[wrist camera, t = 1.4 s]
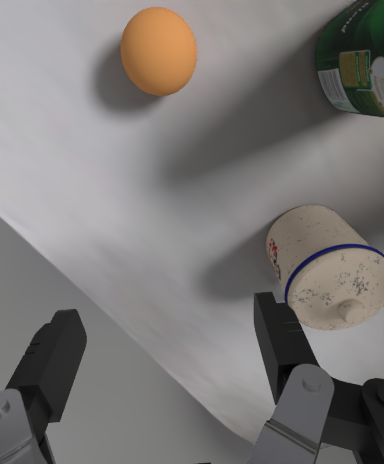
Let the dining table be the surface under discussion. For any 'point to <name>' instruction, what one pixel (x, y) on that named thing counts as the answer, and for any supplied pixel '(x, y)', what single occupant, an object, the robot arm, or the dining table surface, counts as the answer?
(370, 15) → the coffee jar
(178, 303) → the dining table surface
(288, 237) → the teacup with lid
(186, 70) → the ball
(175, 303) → the dining table surface
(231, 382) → the dining table surface
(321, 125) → the dining table surface
